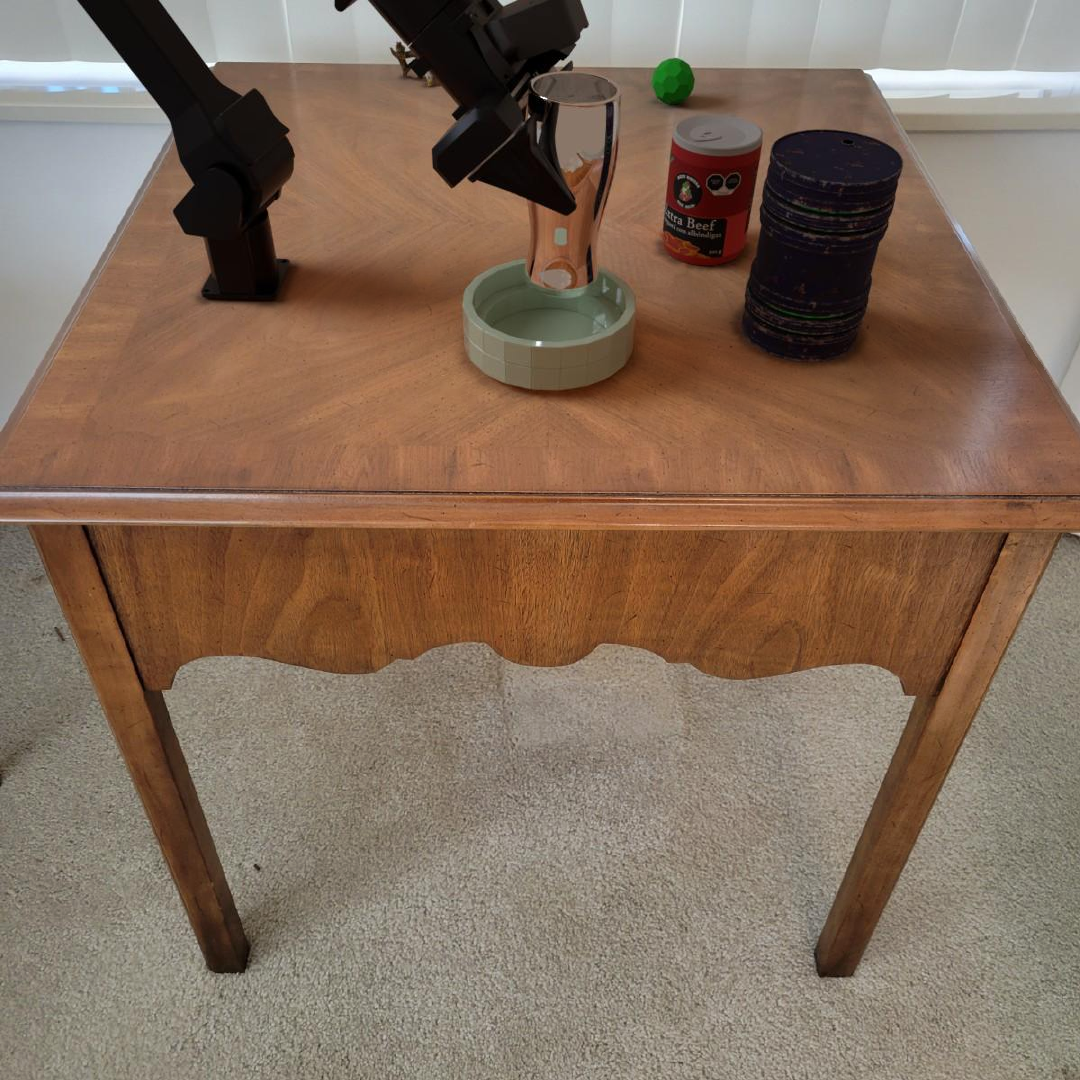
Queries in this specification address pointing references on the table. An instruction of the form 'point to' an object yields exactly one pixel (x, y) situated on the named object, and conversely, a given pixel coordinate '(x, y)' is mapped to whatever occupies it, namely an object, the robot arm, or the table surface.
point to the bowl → (547, 330)
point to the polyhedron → (673, 81)
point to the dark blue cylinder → (818, 242)
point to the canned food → (710, 188)
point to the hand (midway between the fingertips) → (583, 191)
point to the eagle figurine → (401, 57)
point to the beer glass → (572, 177)
